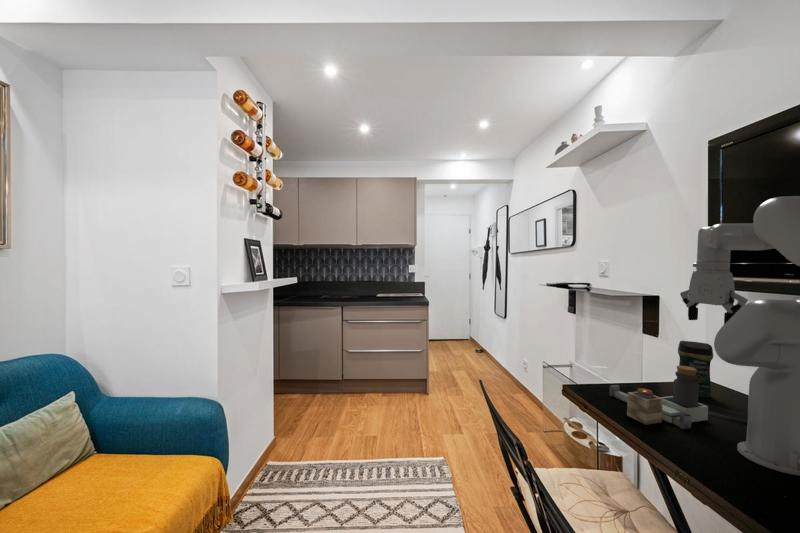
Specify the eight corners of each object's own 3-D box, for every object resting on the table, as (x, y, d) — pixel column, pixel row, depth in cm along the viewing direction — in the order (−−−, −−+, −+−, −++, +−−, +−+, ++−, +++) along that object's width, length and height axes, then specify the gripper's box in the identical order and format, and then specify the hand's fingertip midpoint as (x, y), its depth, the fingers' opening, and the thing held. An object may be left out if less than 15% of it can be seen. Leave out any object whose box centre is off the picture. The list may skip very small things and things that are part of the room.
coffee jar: (678, 394, 122) (680, 342, 121) (673, 387, 128) (675, 338, 128) (714, 400, 117) (716, 346, 116) (707, 392, 124) (709, 341, 123)
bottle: (687, 413, 107) (689, 365, 106) (702, 422, 101) (704, 371, 100) (667, 412, 107) (669, 364, 107) (680, 420, 101) (683, 370, 101)
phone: (766, 427, 97) (697, 409, 108) (766, 431, 97) (696, 412, 108) (767, 418, 102) (700, 402, 113) (767, 422, 102) (700, 405, 113)
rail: (691, 427, 97) (691, 415, 97) (683, 429, 96) (683, 416, 96) (616, 394, 120) (617, 384, 120) (609, 395, 119) (609, 385, 119)
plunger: (655, 409, 101) (656, 392, 101) (645, 410, 100) (646, 393, 100) (643, 404, 104) (643, 387, 104) (633, 405, 103) (634, 388, 103)
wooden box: (661, 422, 100) (662, 398, 100) (645, 424, 98) (646, 400, 98) (642, 413, 106) (643, 390, 106) (626, 415, 104) (627, 392, 104)
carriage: (707, 419, 102) (708, 406, 102) (674, 424, 98) (675, 410, 98) (677, 407, 110) (678, 395, 110) (646, 411, 106) (646, 399, 106)
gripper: (674, 266, 112) (671, 318, 113) (738, 268, 96) (735, 329, 96) (690, 266, 114) (688, 317, 115) (757, 268, 98) (754, 328, 98)
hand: (710, 322), depth 106 cm, fingers open, 9 cm apart
